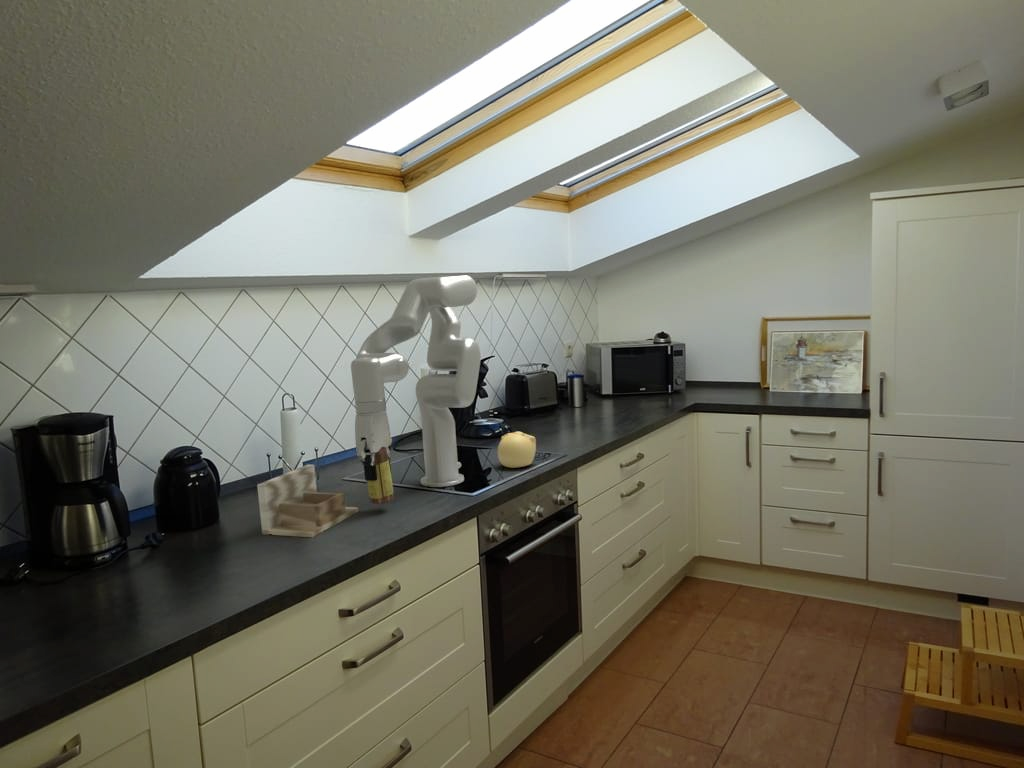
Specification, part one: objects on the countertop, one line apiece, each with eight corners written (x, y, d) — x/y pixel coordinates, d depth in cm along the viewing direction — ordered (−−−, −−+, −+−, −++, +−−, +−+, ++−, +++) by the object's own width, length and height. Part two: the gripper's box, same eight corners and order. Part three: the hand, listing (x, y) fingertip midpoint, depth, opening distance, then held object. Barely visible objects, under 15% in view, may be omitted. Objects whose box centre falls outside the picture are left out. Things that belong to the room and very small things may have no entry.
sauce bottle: (392, 495, 185) (384, 421, 182) (396, 502, 179) (387, 425, 176) (366, 499, 183) (358, 424, 180) (369, 506, 177) (361, 428, 174)
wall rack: (312, 509, 187) (307, 464, 186) (358, 511, 182) (354, 465, 181) (262, 534, 168) (257, 484, 167) (312, 537, 164) (307, 486, 162)
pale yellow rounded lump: (541, 462, 225) (539, 428, 224) (527, 471, 214) (525, 436, 213) (507, 461, 229) (505, 428, 228) (492, 470, 218) (490, 435, 217)
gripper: (375, 400, 187) (382, 466, 190) (338, 414, 171) (347, 486, 173) (400, 400, 184) (407, 467, 187) (366, 414, 168) (374, 487, 171)
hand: (378, 475), depth 180 cm, fingers closed on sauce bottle, 6 cm apart
